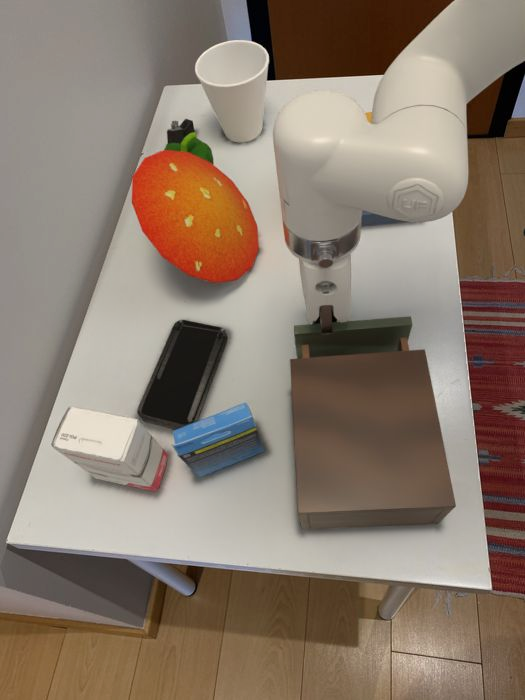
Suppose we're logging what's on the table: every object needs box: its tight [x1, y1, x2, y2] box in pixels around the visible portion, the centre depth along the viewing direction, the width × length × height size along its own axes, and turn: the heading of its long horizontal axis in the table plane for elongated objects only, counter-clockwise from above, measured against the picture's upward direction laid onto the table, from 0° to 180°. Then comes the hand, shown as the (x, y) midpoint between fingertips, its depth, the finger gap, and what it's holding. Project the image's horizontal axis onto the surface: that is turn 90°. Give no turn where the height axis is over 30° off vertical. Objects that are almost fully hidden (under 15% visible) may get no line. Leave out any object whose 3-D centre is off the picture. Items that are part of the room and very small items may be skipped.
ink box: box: [50, 406, 169, 492], centre depth 58 cm, size 9×5×12 cm, turn 77°
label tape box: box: [171, 401, 266, 478], centre depth 57 cm, size 9×4×12 cm, turn 110°
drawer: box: [293, 315, 413, 359], centre depth 59 cm, size 17×14×7 cm
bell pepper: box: [163, 131, 215, 166], centre depth 80 cm, size 8×8×10 cm
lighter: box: [166, 118, 196, 145], centre depth 89 cm, size 8×2×5 cm
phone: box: [136, 319, 229, 430], centre depth 68 cm, size 8×1×15 cm
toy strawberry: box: [131, 149, 260, 284], centre depth 72 cm, size 15×21×15 cm
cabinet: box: [289, 348, 457, 531], centre depth 56 cm, size 17×15×9 cm
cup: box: [194, 39, 270, 144], centre depth 85 cm, size 12×12×12 cm
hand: (324, 323), depth 65 cm, fingers closed
